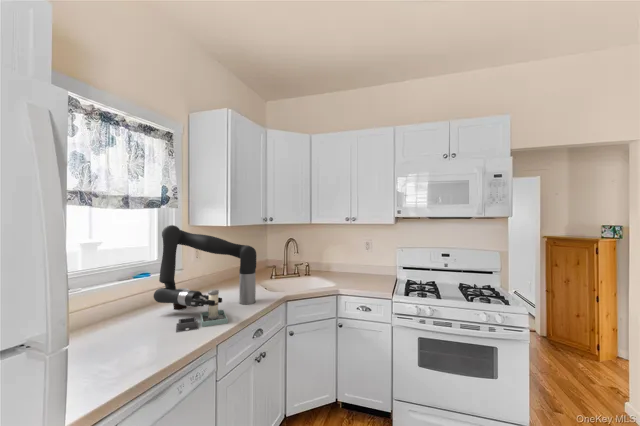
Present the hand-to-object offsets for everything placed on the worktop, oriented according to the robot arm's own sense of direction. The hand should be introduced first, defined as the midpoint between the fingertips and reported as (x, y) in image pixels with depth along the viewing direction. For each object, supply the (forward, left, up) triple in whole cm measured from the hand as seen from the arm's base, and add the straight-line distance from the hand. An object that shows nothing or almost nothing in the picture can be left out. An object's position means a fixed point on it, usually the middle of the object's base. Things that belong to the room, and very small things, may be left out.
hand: (218, 301), depth 140 cm
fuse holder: (+2, -13, -10) cm, 17 cm away
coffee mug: (-34, -16, -10) cm, 39 cm away
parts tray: (-2, -2, -10) cm, 10 cm away
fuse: (-2, -2, -8) cm, 8 cm away
